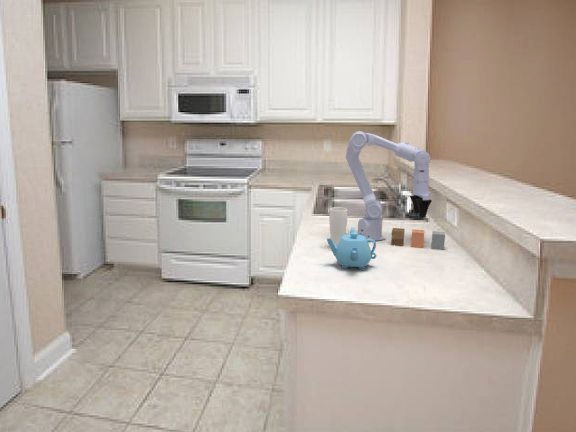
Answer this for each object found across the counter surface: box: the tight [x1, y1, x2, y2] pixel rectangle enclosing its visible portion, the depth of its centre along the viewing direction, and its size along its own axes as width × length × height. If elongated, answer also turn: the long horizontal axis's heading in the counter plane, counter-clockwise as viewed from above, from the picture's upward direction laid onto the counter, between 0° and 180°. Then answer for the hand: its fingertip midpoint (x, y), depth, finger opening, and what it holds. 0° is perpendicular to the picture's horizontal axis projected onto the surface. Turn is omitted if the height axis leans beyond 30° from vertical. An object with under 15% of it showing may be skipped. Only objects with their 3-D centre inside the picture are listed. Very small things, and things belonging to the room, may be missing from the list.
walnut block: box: [390, 227, 405, 247], centre depth 171 cm, size 4×4×6 cm
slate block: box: [430, 230, 446, 251], centre depth 167 cm, size 4×4×6 cm
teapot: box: [326, 227, 377, 271], centre depth 145 cm, size 15×14×11 cm
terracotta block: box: [410, 229, 425, 249], centre depth 169 cm, size 4×4×6 cm
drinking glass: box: [328, 206, 349, 246], centre depth 165 cm, size 7×7×15 cm
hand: (419, 215), depth 174 cm, fingers open, 7 cm apart
